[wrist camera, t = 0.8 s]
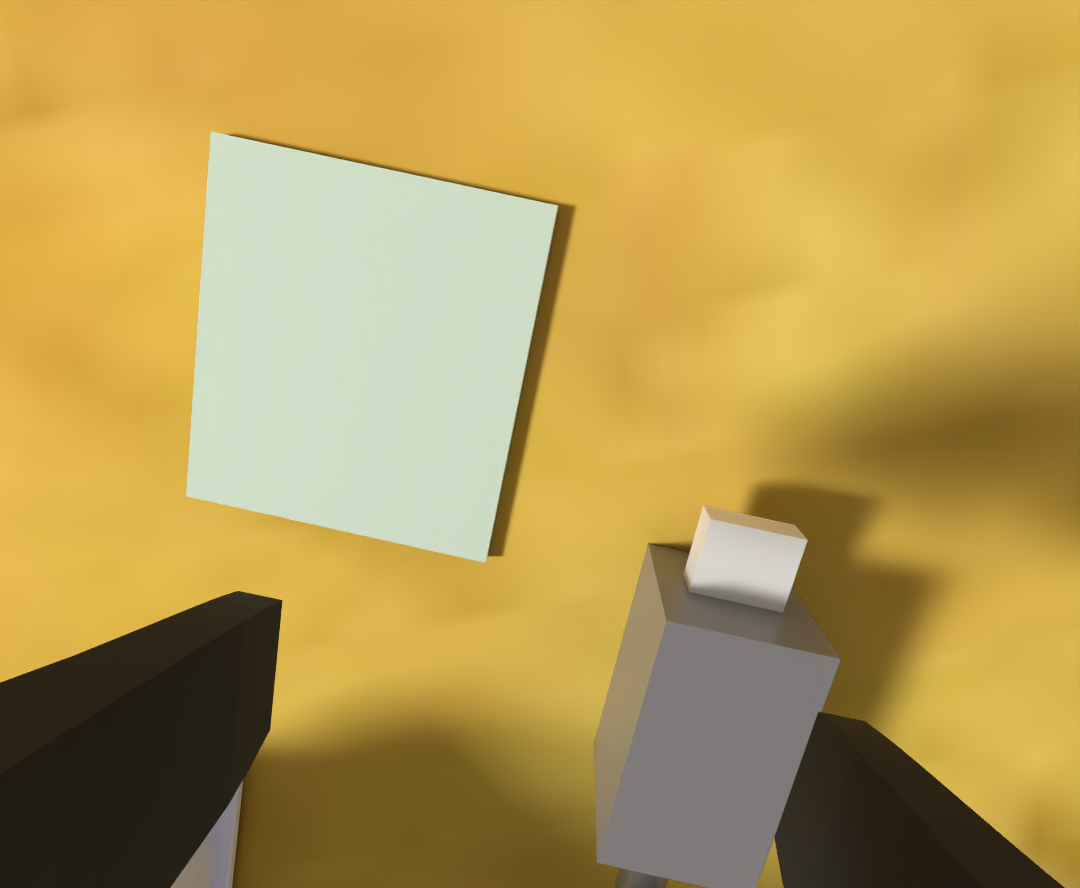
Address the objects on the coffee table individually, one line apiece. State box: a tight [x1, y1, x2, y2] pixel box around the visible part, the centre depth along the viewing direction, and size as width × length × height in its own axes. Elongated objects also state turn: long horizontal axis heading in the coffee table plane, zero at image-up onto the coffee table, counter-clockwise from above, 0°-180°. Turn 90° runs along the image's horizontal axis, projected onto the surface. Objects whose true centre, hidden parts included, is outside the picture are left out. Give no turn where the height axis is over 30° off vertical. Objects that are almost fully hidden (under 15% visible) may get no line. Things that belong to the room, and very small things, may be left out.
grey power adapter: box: [594, 505, 841, 888], centre depth 18 cm, size 12×4×4 cm, turn 168°
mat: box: [186, 132, 558, 563], centre depth 18 cm, size 10×9×1 cm
